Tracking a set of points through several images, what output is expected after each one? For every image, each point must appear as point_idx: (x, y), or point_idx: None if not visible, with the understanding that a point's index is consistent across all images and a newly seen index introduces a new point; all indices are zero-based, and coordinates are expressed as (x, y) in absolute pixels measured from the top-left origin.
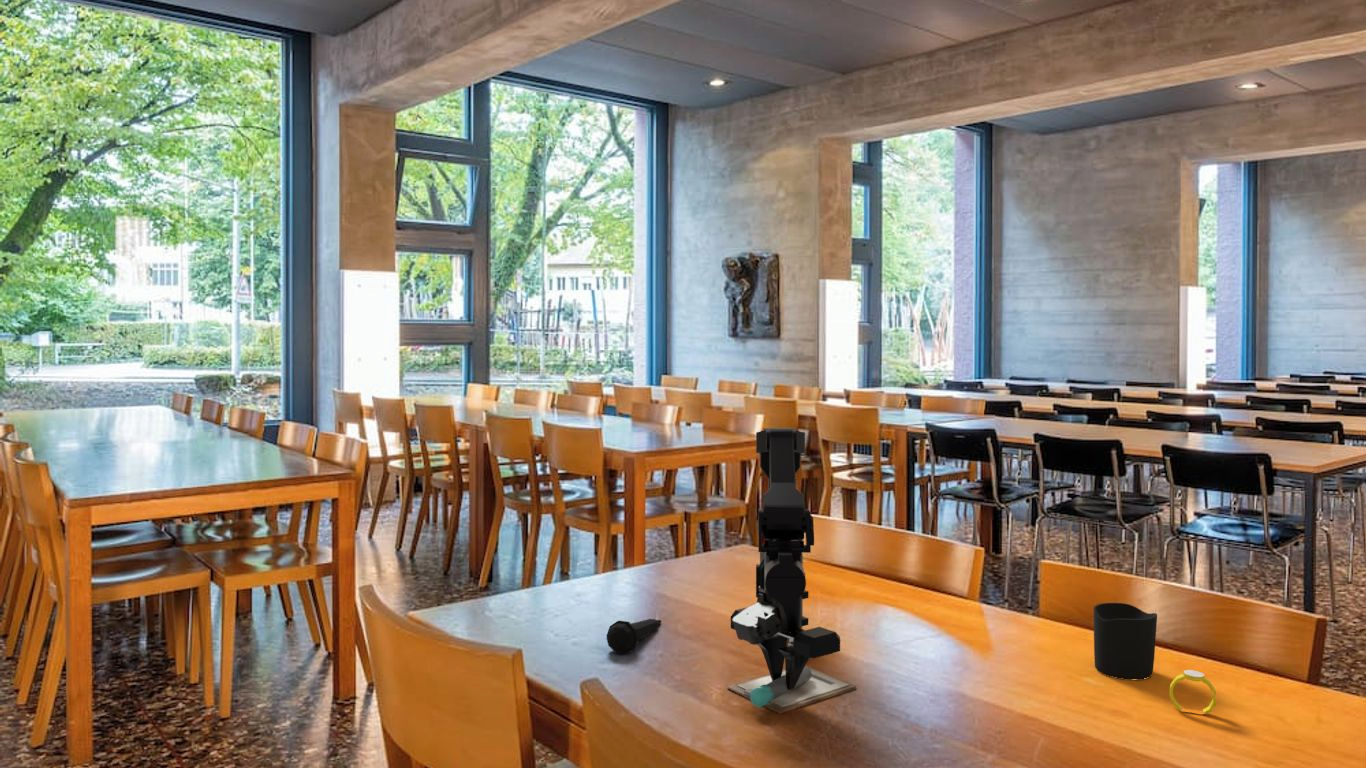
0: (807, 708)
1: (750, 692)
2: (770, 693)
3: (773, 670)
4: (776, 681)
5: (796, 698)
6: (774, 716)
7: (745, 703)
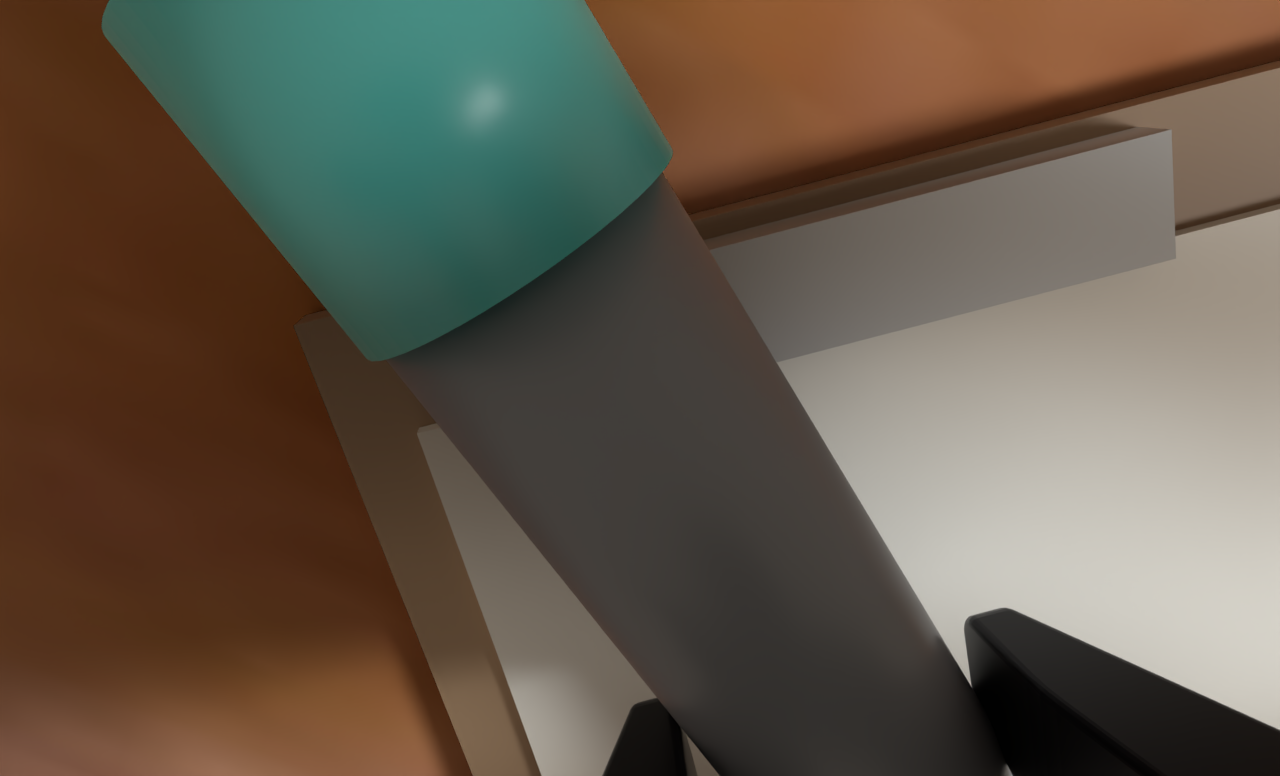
0: (368, 705)
1: (1039, 187)
2: (289, 262)
3: (1100, 763)
4: (705, 612)
5: (598, 703)
6: (232, 198)
7: (869, 10)
